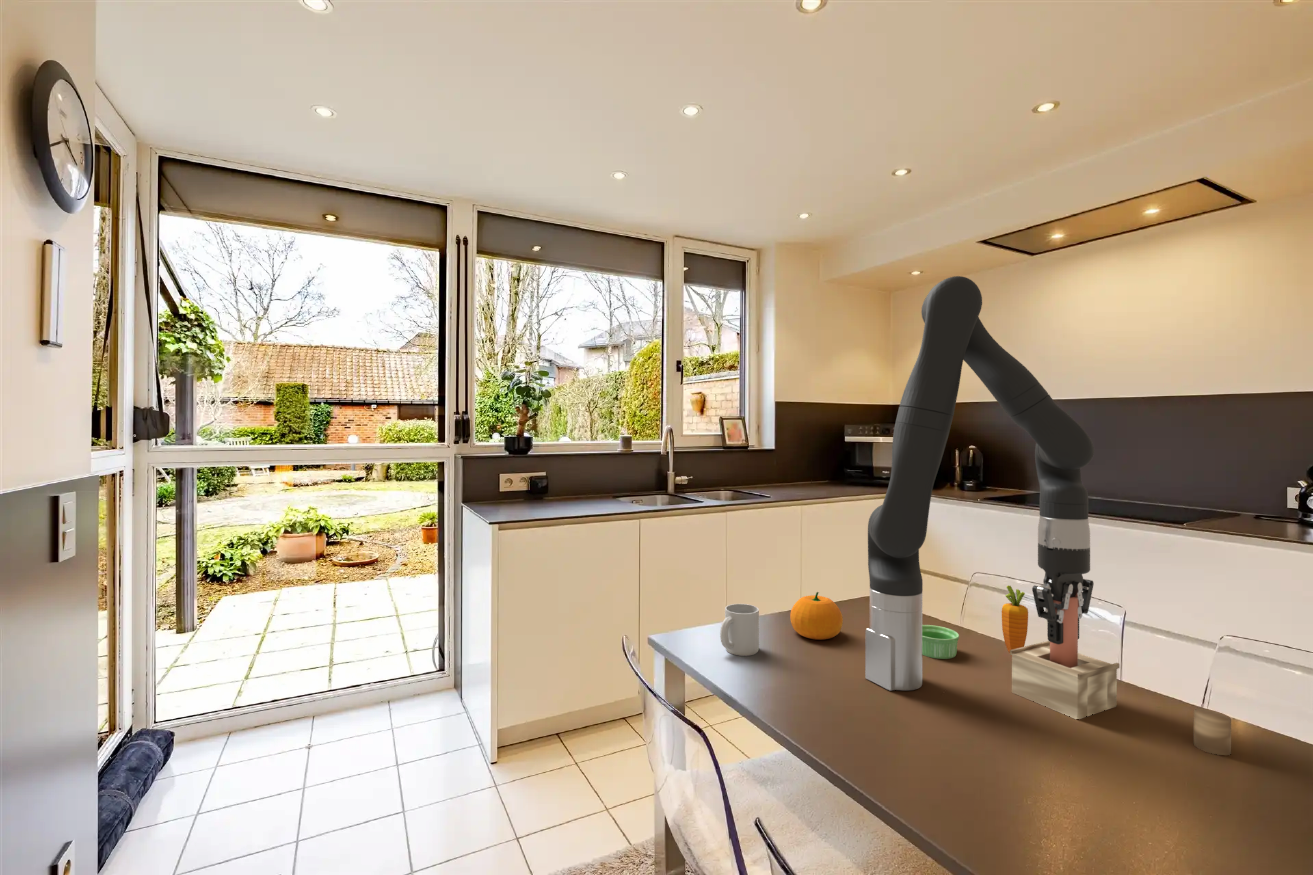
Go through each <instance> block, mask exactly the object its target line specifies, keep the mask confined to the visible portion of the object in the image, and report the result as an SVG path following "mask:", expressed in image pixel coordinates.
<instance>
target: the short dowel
mask: <svg viewBox="0 0 1313 875" xmlns="http://www.w3.org/2000/svg"><path fill="white" fill-rule="evenodd" d="M1193 745H1194V746H1195V747H1196V748H1197V749H1198V750H1200V749H1201V751H1202V750H1203V752H1205V751H1206V752H1205V753H1208V752H1209V753H1208V754H1211V753H1212V754H1211V755H1214V754H1217V755H1216V756H1219V755H1229V756H1231V755H1230V754H1232V718H1231V717H1230V716H1228V715H1227V714H1224V713H1223V712H1219V711H1218V710H1217V711H1216V710H1213V709H1207V708H1194V710H1193Z"/></svg>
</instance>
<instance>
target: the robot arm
mask: <svg viewBox="0 0 1313 875" xmlns="http://www.w3.org/2000/svg"><path fill="white" fill-rule="evenodd" d="M982 308H983V295H982V293H981V290H980V288H979V286H978V285H977V284H976V282H975V281H973V280H972V279H970V278H968V277H966V276H962V275H961V276H959V275H957V276H949V277H947V278H945V279H943V280H941V281H939V282H938V283H937V284H935V285H934V286H933V287H932V288H931V289H930V291H929V292H928V293H927V295H926V296H925V299H924V300H923V303H922V305H921V312H920V313H921V318H922V321H923V323H924V325H923V326H924V327H923V334H922V340H921V344H920V349H919V352H918V356H917V358H916V360H915V364H914V366H913V368H912V370H911V372H910V375H909V377H908V380H907V382H906V385H905V387H904V390H903V392H902V396H901V398H900V403H899V406H898V411H897V415H896V419H895V424H894V428H893V437H892V445H891V469H890V470H891V471H890V478H889V483H888V487H887V489H886V493H885V496H884V499H883V503H882V504H880V505H879V506H878V507H876V508H875V509H874V510H873V511H872V513H871V514H870V516H869V518H868V523H867V567H868V577H869V578H868V579H869V627H867V628H866V629H865V666H864V667H865V669H864V670H865V672H864V673H865V679H866V680H868V681H870V682H871V683H875V684H876V685H878V686H880V687H881V688H884V689H886V690H887V691H895V690H896V691H914V690H917V689H920V688H921V687H922V685H923V655H922V625H923V592H924V591H923V586H924V585H923V576H922V572H921V566H920V565H921V564H920V549H921V548H922V546H923V545H924V542H925V541H926V536H927V532H928V524H929V523H928V522H929V514H930V509H931V508H930V507H931V501H932V493H933V489H934V485H935V481H936V477H937V474H938V471H939V469H940V467H941V466H940V465H941V462H942V459H943V455H944V452H945V449H946V445H947V442H948V438H949V435H950V430H951V427H952V426H951V425H952V422H953V419H954V415H955V409H956V404H957V400H958V394H959V388H960V383H961V377H962V369H963V362H965V363H966V364H967V365H968V367H969V368H970V369H971V370H972V371H973V373H974V374H975V375H976V376H977V377H978V378H979V380H980V381H981V382H982V384H983V385H984V387H986V389H987V390H988V391H989V393H991V395H992V396H993V398H994V399H995V400H996V401H997V403H998V404H999V406H1000V407H1001V408H1002V409H1003V411H1004V412H1006V414H1007V416H1009V418H1010V419H1011V421H1012V422H1013V423H1014V424H1015V425H1016V426H1018V427H1019V428H1021V429H1022V430H1024V431H1025V432H1026V433H1028V435H1029V436H1030V437H1031V439H1032V440H1034V442H1035V447H1034V448H1035V449H1034V458H1035V459H1034V460H1035V461H1034V462H1035V469H1036V474H1037V480H1038V481H1037V482H1038V484H1039V518H1038V526H1037V566H1038V567H1039V568H1040V569H1042V570H1043V571H1044V578H1043V582H1042V583H1043V584H1041V585H1033V586H1032V588H1031V589H1032V595H1033V599H1034V604H1035V607H1036V608H1035V609H1036V612H1037V617H1038V618H1040V619H1041V618H1042V619H1044V620H1046V622H1047V630H1046V631H1047V641H1050V642H1052V643H1055V644H1062V643H1063V623H1062V622H1063V617H1064V611H1065V610H1067V609H1068V606H1069V600H1070V598H1072V597H1077V598H1078V640H1079V639H1080V620H1081V619H1082V618H1083V614H1086V615H1087V614H1088V613H1089V610H1090V609H1089V608H1090V604H1091V600H1092V595H1093V589H1094V581H1093V580H1091V579H1087V578H1084V577H1083V575H1084V574H1088V573H1089V572H1090V571H1091V529H1090V522H1089V494H1088V489H1087V488H1086V486H1084V484H1083V483H1082V474H1081V469H1082V468H1084V467H1085V466H1087V465H1089V463H1090V462H1091V461H1092V460H1093V458H1094V453H1095V447H1094V444H1093V441H1092V439H1091V437H1090V436H1089V434H1088V433H1087V432H1086V431H1085V430H1084V428H1083V427H1081V425H1080V424H1079V423H1078V422H1077V421H1076V420H1074V418H1072V417H1071V416H1070V415H1069V413H1067V412H1066V411H1065V410H1063V409H1062V408H1061V407H1060V406H1059V405H1058V404H1057V403H1056V402H1055V401H1054V399H1053V397H1052V396H1051V395H1050V394H1049V392H1047V390H1046V389H1045V387H1043V385H1042V384H1041V383H1040V382H1039V380H1038V379H1037V378H1036V377H1035V376H1034V374H1032V372H1031V371H1030V370H1029V369H1028V368H1027V367H1026V366H1025V365H1024V364H1022V362H1020V361H1019V360H1018V359H1016V357H1015V356H1013V355H1012V354H1010V352H1008V351H1007V350H1005V349H1004V347H1003V346H1001V345H1000V344H999V342H997V341H996V340H995V338H993V336H992V335H991V334H990V333H989V331H988V330H987V329H986V327H985V326H984V324H983V322H982V321H981V319H980V317H979V316H980V313H981V311H982ZM1053 600H1055V601H1059V602H1061V604H1057V603H1053ZM1055 608H1057V615H1056V612H1055Z"/></svg>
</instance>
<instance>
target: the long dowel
mask: <svg viewBox="0 0 1313 875" xmlns="http://www.w3.org/2000/svg"><path fill="white" fill-rule="evenodd" d="M1053 603H1057V604H1061V602H1059V601H1055V600H1053ZM1055 612H1056V615H1057V608H1055ZM1062 623H1063V643H1062V644H1055V643H1052V642H1050V661H1051V662H1054V663H1057V664H1060V665H1063V666H1065V667H1068V668H1073V667H1076V666H1078V653H1079V651H1078V650H1079V643H1078V642H1079V639H1078V598H1077V597H1072V598H1070V600H1069V606H1068V609H1067V610H1065V611H1064V617H1063V622H1062Z"/></svg>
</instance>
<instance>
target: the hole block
mask: <svg viewBox="0 0 1313 875" xmlns="http://www.w3.org/2000/svg"><path fill="white" fill-rule="evenodd" d="M1010 655H1012V657H1011V693H1012V694H1014V695H1017V696H1020V697H1022V698H1024V699H1027V700H1029V701H1031V702H1033V701H1034V703H1036V704H1039V705H1041V706H1043V707H1045V706H1046V708H1048V709H1050V710H1053V711H1055V712H1058V713H1059V714H1062V715H1064V714H1065V716H1067V717H1069V716H1070V717H1069V718H1072V719H1075V720H1076V719H1079V720H1082V719H1084V718H1087V717H1090V716H1092V714H1093V715H1096V714H1100V713H1101V712H1104V710H1105V711H1107V710H1110V709H1113V708H1116V707H1117V706H1118V705H1117V702H1118V701H1117V700H1118V699H1117V697H1118V695H1117V688H1118V687H1117V686H1118V684H1117V681H1118V680H1117V679H1118V676H1117V675H1118V671H1117V670H1119V669H1120V663H1119V662H1114V663H1111V662H1110V663H1109V662H1107V661H1103V660H1100V659H1098V658H1095V657H1091V656H1088V655H1085V654H1082V653H1079V652H1078V666H1076V667H1073V668H1068V667H1065V666H1063V665H1060V664H1057V663H1054V662H1051V661H1050V641H1049V640H1047V641H1042V642H1039V643H1034V644H1031V645H1030V644H1029V645H1026V646H1025V645H1024V647H1021V648H1017V649H1013V650H1010V654H1009V656H1010ZM1086 716H1087V717H1086Z"/></svg>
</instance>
